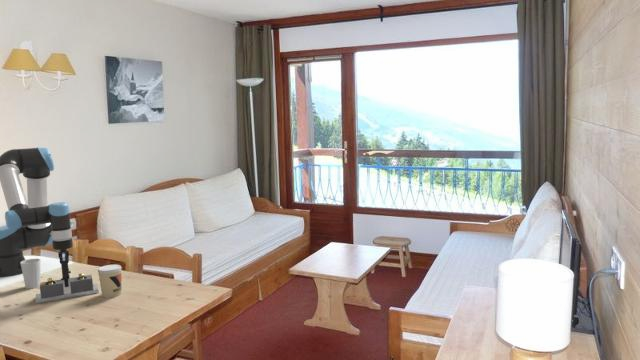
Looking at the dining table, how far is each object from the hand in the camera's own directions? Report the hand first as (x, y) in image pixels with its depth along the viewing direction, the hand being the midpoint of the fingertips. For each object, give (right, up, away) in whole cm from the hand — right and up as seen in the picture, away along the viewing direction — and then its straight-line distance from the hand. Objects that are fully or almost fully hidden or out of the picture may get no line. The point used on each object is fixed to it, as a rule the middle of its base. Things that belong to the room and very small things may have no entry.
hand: (67, 291), depth 219 cm
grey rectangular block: (0, 0, 0) cm, 0 cm away
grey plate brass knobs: (0, -2, 0) cm, 2 cm away
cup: (-22, -1, +13) cm, 26 cm away
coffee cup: (+19, -2, 0) cm, 19 cm away
